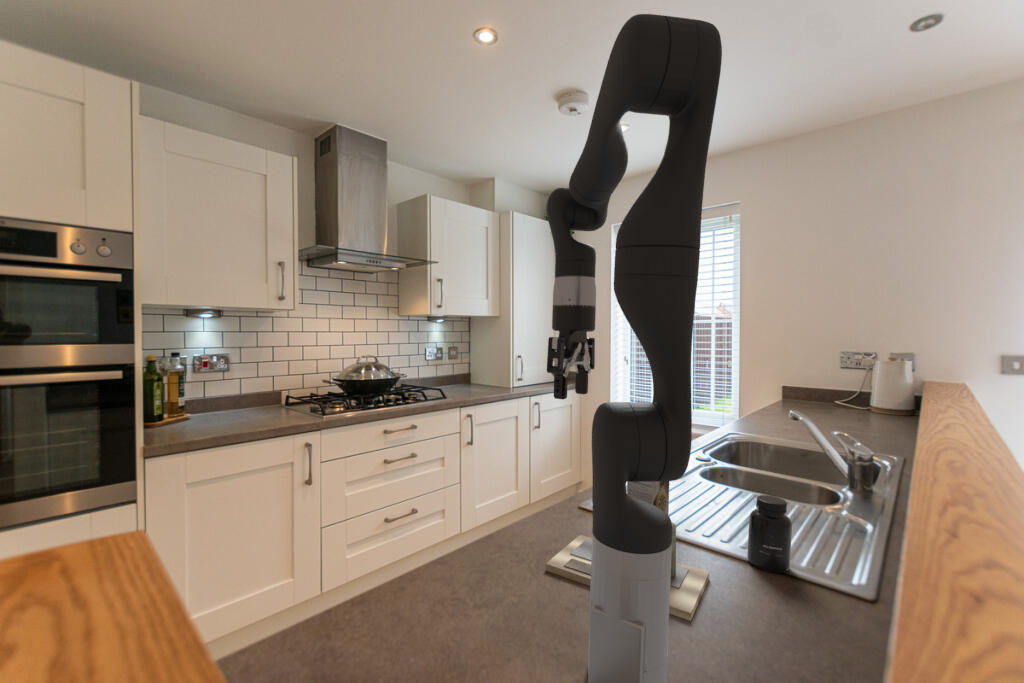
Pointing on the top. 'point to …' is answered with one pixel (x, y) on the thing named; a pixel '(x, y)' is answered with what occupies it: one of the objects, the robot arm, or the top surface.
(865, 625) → the top surface
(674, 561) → the green cylinder
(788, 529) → the supplement bottle
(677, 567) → the board
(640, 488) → the coffee box
